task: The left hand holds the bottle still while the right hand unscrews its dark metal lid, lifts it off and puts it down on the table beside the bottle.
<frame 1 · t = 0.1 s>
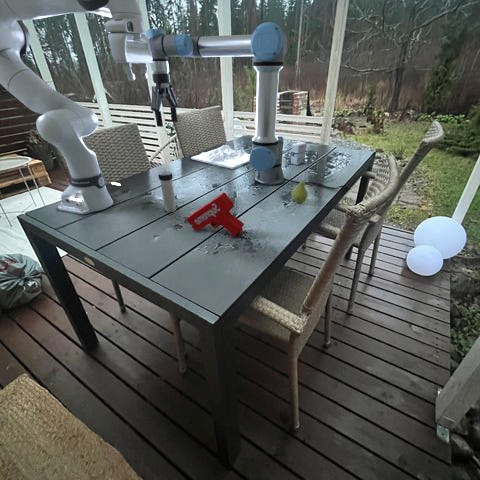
left hand: (138, 79, 90), 48 cm above the table, tool pointing down, fingers open, 8 cm apart
right hand: (167, 124, 132), 28 cm above the table, tool pointing down, fingers open, 13 cm apart
lid: (165, 173, 107), point 16 cm above the table, screwed on, not yet turned
toy gun: (215, 231, 100), on the table
relief map: (224, 159, 179), on the table
bottle: (170, 209, 116), on the table
fruit: (299, 202, 122), on the table
ink box: (297, 163, 170), on the table
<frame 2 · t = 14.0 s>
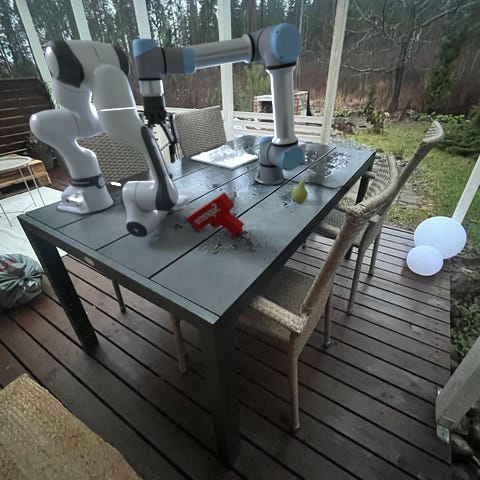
left hand: (169, 194, 113), 7 cm above the table, tool horizontal, fingers closed on bottle, 4 cm apart
right hand: (163, 161, 105), 21 cm above the table, tool pointing down, fingers open, 7 cm apart
bottle: (170, 209, 116), on the table, touching left hand
everything else where it was.
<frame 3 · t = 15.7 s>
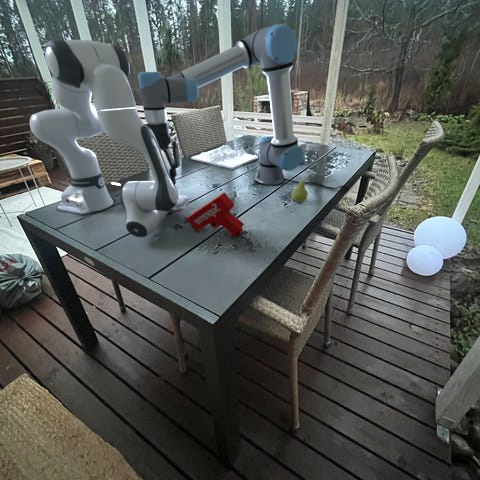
left hand: (169, 194, 113), 7 cm above the table, tool horizontal, fingers closed on bottle, 4 cm apart
right hand: (166, 183, 110), 12 cm above the table, tool pointing down, fingers closed on lid, 5 cm apart
lid: (165, 173, 107), point 16 cm above the table, screwed on, not yet turned, touching right hand
bottle: (170, 209, 116), on the table, touching left hand
everything else where it was.
when the right hand's fingers open (12 cm above the table, at t = 17.0 s): lid stays where it is, point 16 cm above the table.
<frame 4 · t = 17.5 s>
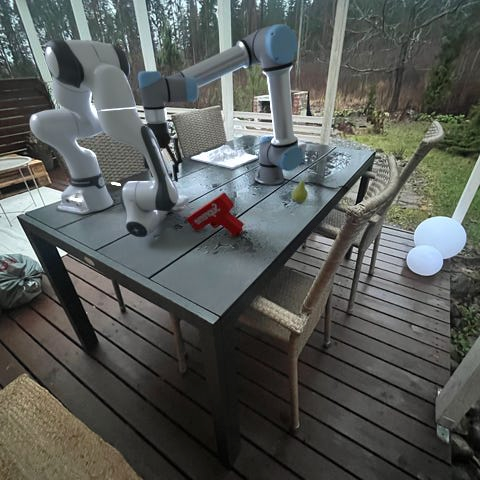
left hand: (169, 194, 113), 7 cm above the table, tool horizontal, fingers closed on bottle, 4 cm apart
right hand: (166, 182, 109), 12 cm above the table, tool pointing down, fingers open, 7 cm apart
lid: (165, 173, 107), point 16 cm above the table, turned 79° so far, risen 0.2 cm, still on its thread
bottle: (170, 209, 116), on the table, touching left hand
everything else where it was.
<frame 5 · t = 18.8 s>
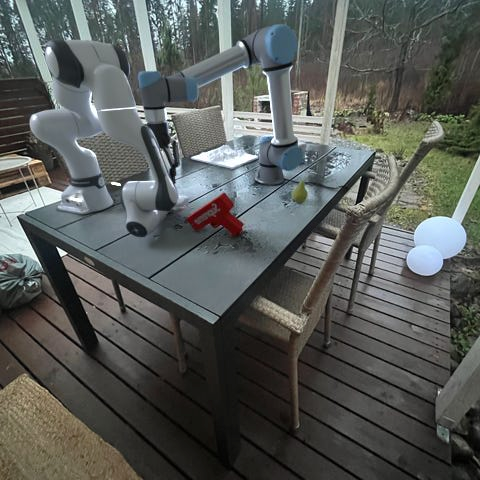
left hand: (169, 194, 113), 7 cm above the table, tool horizontal, fingers closed on bottle, 4 cm apart
right hand: (166, 183, 110), 12 cm above the table, tool pointing down, fingers closed on lid, 5 cm apart
lid: (165, 173, 107), point 16 cm above the table, turned 79° so far, risen 0.2 cm, still on its thread, touching right hand
bottle: (170, 209, 116), on the table, touching left hand
everything else where it was.
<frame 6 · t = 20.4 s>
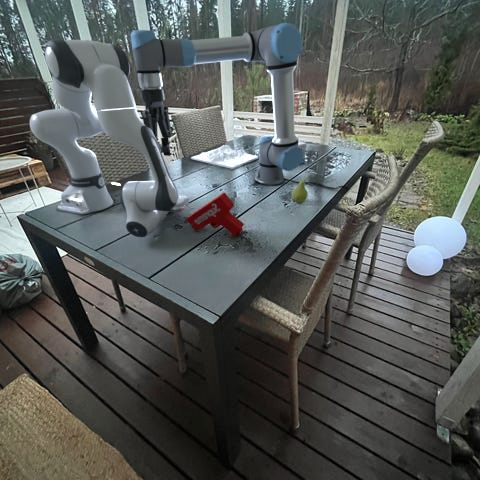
left hand: (169, 194, 113), 7 cm above the table, tool horizontal, fingers closed on bottle, 4 cm apart
right hand: (163, 157, 104), 22 cm above the table, tool pointing down, fingers closed on lid, 5 cm apart
lid: (161, 146, 102), point 26 cm above the table, off its thread, touching right hand
bottle: (170, 209, 116), on the table, touching left hand
everything else where it was.
when the right hand's fingers open (0 cm above the table, at t = 26.6 s): lid drops 3 cm, point 2 cm above the table.
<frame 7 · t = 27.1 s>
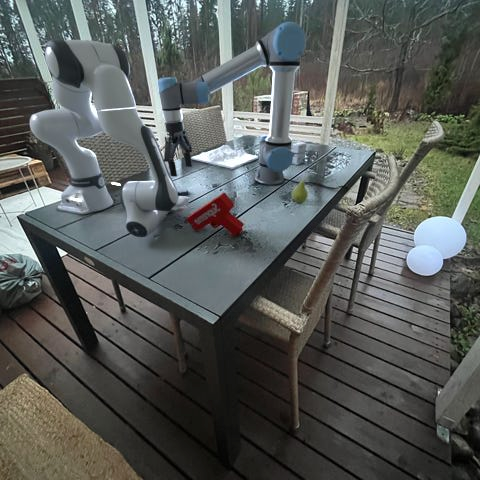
left hand: (169, 194, 113), 7 cm above the table, tool horizontal, fingers closed on bottle, 4 cm apart
right hand: (181, 171, 124), 11 cm above the table, tool pointing down, fingers open, 13 cm apart
lid: (182, 190, 129), point 2 cm above the table, off its thread
bottle: (170, 209, 116), on the table, touching left hand
everything else where it was.
when the left hand's fingers open (7 cm above the table, at t = 27.2 s): bottle stays where it is, on the table.
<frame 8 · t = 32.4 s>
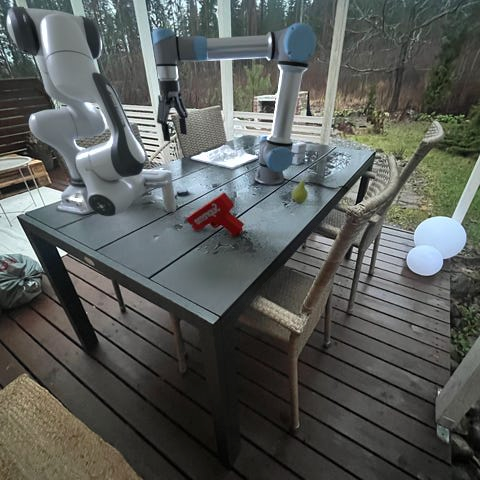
left hand: (150, 169, 95), 21 cm above the table, tool horizontal, fingers open, 8 cm apart
right hand: (176, 137, 116), 26 cm above the table, tool pointing down, fingers open, 13 cm apart
bottle: (170, 209, 116), on the table
everything else where it was.
at the end: lid came off its thread; lid point 1.8 cm above the table; the left hand is holding nothing; the right hand is holding nothing; bottle tilted 0°; bottle moved 0.0 cm from its start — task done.
